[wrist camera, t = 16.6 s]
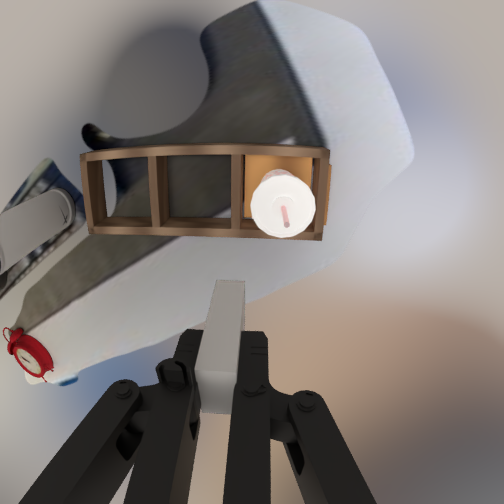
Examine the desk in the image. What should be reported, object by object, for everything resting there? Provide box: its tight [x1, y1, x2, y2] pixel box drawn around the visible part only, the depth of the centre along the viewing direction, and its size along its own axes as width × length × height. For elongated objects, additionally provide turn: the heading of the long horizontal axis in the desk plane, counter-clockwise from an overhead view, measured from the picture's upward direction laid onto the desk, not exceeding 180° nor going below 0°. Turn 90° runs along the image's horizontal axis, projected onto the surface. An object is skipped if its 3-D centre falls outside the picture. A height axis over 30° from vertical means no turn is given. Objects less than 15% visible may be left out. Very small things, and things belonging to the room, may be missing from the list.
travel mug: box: [0, 188, 75, 275], centre depth 29 cm, size 6×7×20 cm
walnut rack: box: [80, 143, 332, 241], centre depth 35 cm, size 30×10×4 cm, turn 89°
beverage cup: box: [250, 169, 316, 238], centre depth 30 cm, size 6×6×14 cm
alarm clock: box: [3, 327, 54, 382], centre depth 50 cm, size 10×6×15 cm
